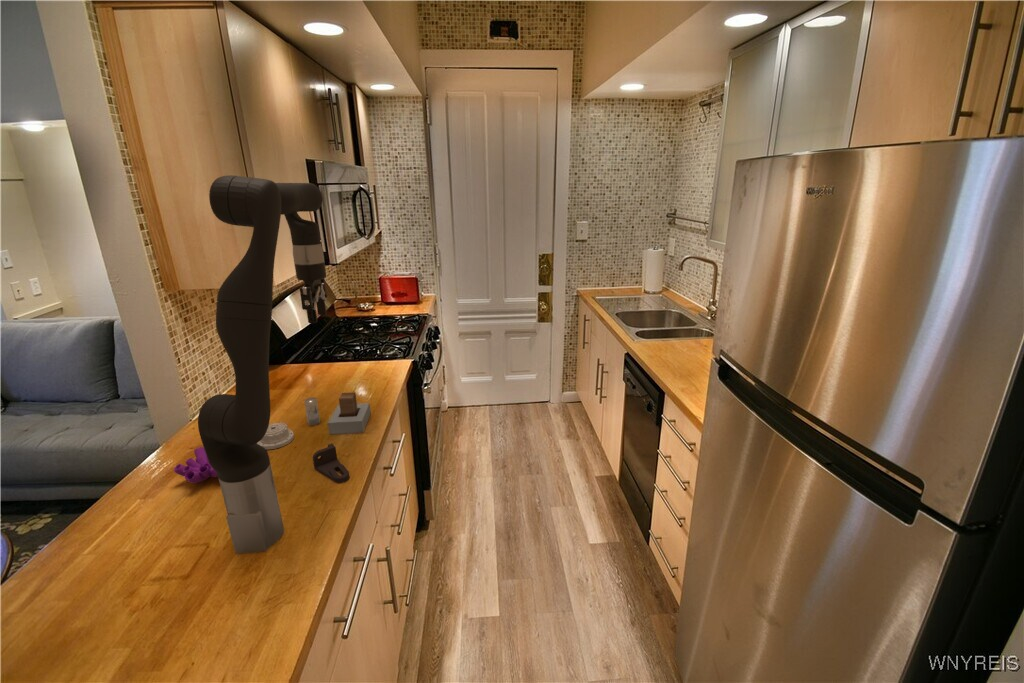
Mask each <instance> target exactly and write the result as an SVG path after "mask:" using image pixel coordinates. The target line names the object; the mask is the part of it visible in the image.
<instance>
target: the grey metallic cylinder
mask: <svg viewBox="0 0 1024 683" xmlns="http://www.w3.org/2000/svg"><path fill="white" fill-rule="evenodd" d="M303 402H304V407H305V414H306V420H307V421H306V422H307V425H308V426H316V425H318V424H320V423H321V419H320V411H319V405H318V399H317V397H314V396H313V397H307V398H306V399H304V400H303Z"/></svg>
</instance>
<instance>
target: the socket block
mask: <svg viewBox="0 0 1024 683" xmlns="http://www.w3.org/2000/svg"><path fill="white" fill-rule="evenodd" d="M357 409H358V415H357V416H354V417H341V411H340V404H338V405H337V406H336V407H335V410H333V413H332V415H331V417H330V418H329V419H328V422H327V427H328V434H329V435H341V434H343V435H345V434H362V433H364V432H365V430H366V427H367V425H368V422H369V420H370V416H371V415H372V414H371V404H370V402H367V403H366V402H365V403H362V402H361V403H357Z"/></svg>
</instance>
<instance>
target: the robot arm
mask: <svg viewBox="0 0 1024 683" xmlns="http://www.w3.org/2000/svg"><path fill="white" fill-rule="evenodd" d="M208 196H209V205H210V209H211V211H212V213H213V214H214V216H215V217H216V219H217V220H219V221H221V222H222V223H225V224H227V225H231V226H237V227H249V228H253V231H252V236H251V239H250V243H249V246H248V248H247V251H246V253H245V254H244V256H243V257H242V258H241V260H240V261H239V262H238V263H237V265H236V266H235V267H234V268H233V270H231V272H230V273H229V275H228V276H227V277H226V278H225V279H224V281H223V282H222V284H221V285H220V287H219V289H218V290H217V291H218V292H217V297H216V310H215V311H216V312H215V328H216V332H217V334H218V337H219V339H220V342H221V344H222V346H223V347H224V350H225V352H226V355H227V357H228V358H229V360H230V362H231V363H232V368H233V371H234V378H235V394H228V393H227V394H226V393H220V394H219V393H218V394H216V395H213V396H211V397H209V398H208V399H207V400H206V401H204V403H203V404H202V406H201V407H200V410H199V413H198V418H197V428H198V434H199V438H200V440H201V442H202V447H204V449H205V452H206V455H207V458H208V461H209V463H210V465H211V467H212V468H213V469H214V470H215V471H216V472H217V475H218V477H217V478H218V482H219V486H220V490H221V493H222V497H223V501H224V505H225V506H224V507H225V509H226V514H227V515H226V522H227V526H228V530H229V534H230V537H231V541H232V544H233V545H232V546H233V548H234V553H235V554H236V555H238V554H240V555H241V554H251V553H263V552H264V553H265V552H267V551H268V550H269V548H271V546H273V545H275V544H276V543H277V542H278V541H279V540H281V538H282V536H283V534H284V531H285V527H284V523H283V518H282V513H281V508H280V503H279V499H278V493H277V489H276V485H275V479H274V475H273V469H272V464H271V459H270V455H269V452H268V450H266V449H265V448H264V447H262V446H260V445H259V444H257V443H258V442H259V441H260V440H261V439H262V438H263V437H264V435H265V433H266V432H267V429H268V426H269V425H270V421H271V392H270V388H271V387H270V365H269V364H270V340H271V339H270V337H271V327H272V316H273V297H274V296H273V291H274V290H273V289H274V272H275V259H276V258H275V257H276V252H277V245H278V237H279V232H280V224H281V216H283V215H284V218H285V220H286V222H287V225H288V228H289V232H290V238H291V243H292V256H293V257H292V258H293V262H294V263H293V264H294V269H295V276H296V279H297V280H299V281H303V283H304V284H303V286H301V287H299V294H300V299H301V300H300V301H301V309H302V310H305V311H306V316H307V321H308V323H309V324H316V323H318V316H325V315H327V308H326V300H327V298H328V292H327V286H326V279H325V278H327V270H326V264H325V255H324V250H323V247H322V243H321V242H322V241H321V235H320V229H319V228H320V227H319V224H318V222H316V221H313V220H307V219H304V218H302V217H301V216H300V215H299V212H300V213H301V212H308V213H309V212H316V211H318V210H319V209H321V206H322V205H323V193H322V192H321V190H320V188H319V187H318V186H317V185H316V184H314V183H312V182H275V181H273V180H270V179H267V178H266V179H265V178H259V177H251V176H250V177H249V176H241V175H239V176H238V175H221V176H219V177H217V178H216V179H214V180H213V181H212V183H211V185H210V188H209V193H208Z"/></svg>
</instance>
